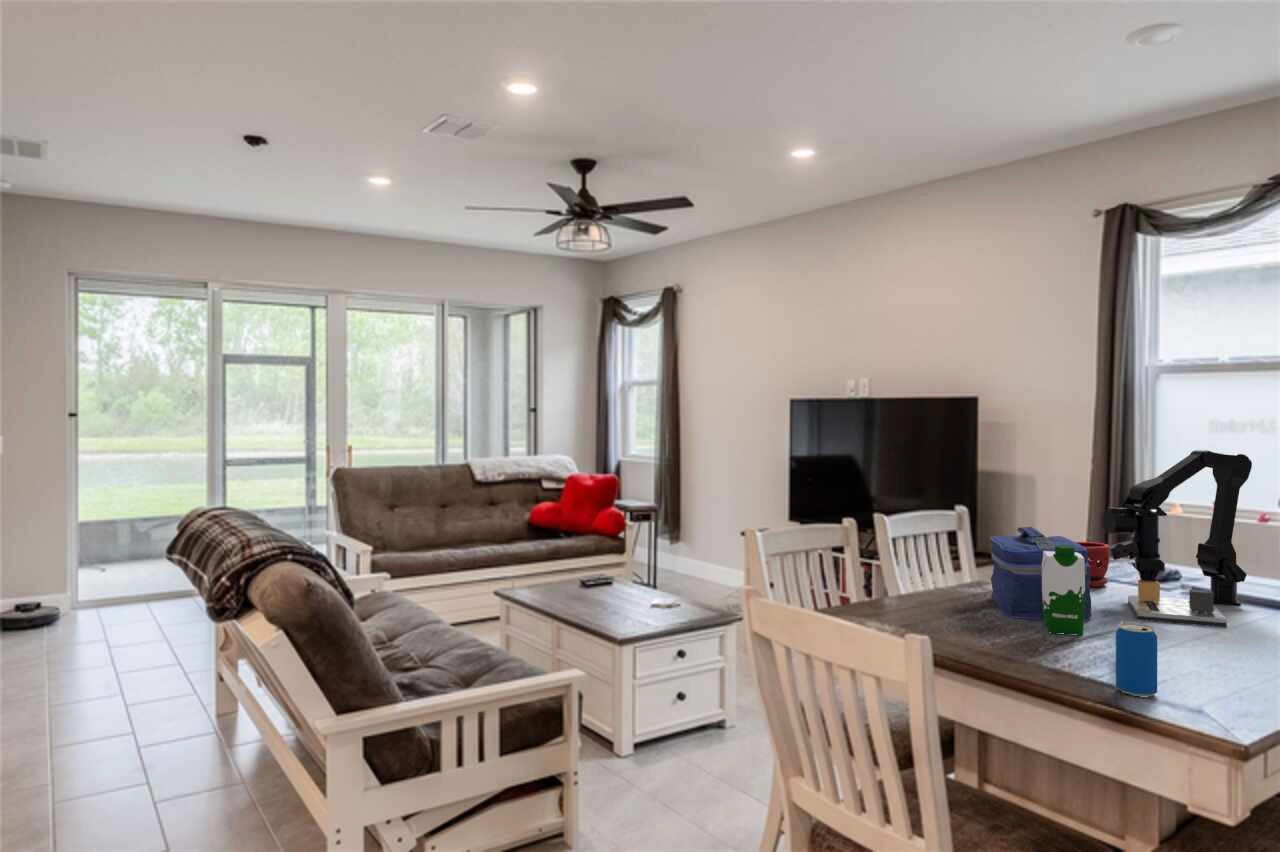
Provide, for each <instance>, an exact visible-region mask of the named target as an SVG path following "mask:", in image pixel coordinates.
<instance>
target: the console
mask: <svg viewBox="0 0 1280 852" xmlns="http://www.w3.org/2000/svg"><path fill="white" fill-rule="evenodd" d="M1127 603H1128V605H1129V606H1130V609H1131V610H1132V612H1133V613H1134V616H1135V617H1136V619H1137V621H1145V620H1148V621H1147V622H1157V621H1160V622H1159V623H1169V622H1172V624H1181V623H1184V624H1185V625H1193V624H1196V625H1197V626H1205V625H1209V627H1219V628H1220V627H1221V628H1227V627H1228V622H1227V621H1228V620H1227V619H1228V618H1226V616H1225V615H1224V614H1223V613H1222V612H1221V611H1220V610H1219V609H1218V608H1217V607H1216V606H1215V605H1214V612H1204V615H1201V614H1199V613H1198V611H1192V610H1191V609H1190V598H1176V597H1175V598H1173V597H1161V596H1160V602H1157V601H1151V605H1147V604H1146V601H1144V600H1139V598H1138V595H1134V594H1128V595H1127Z"/></svg>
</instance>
